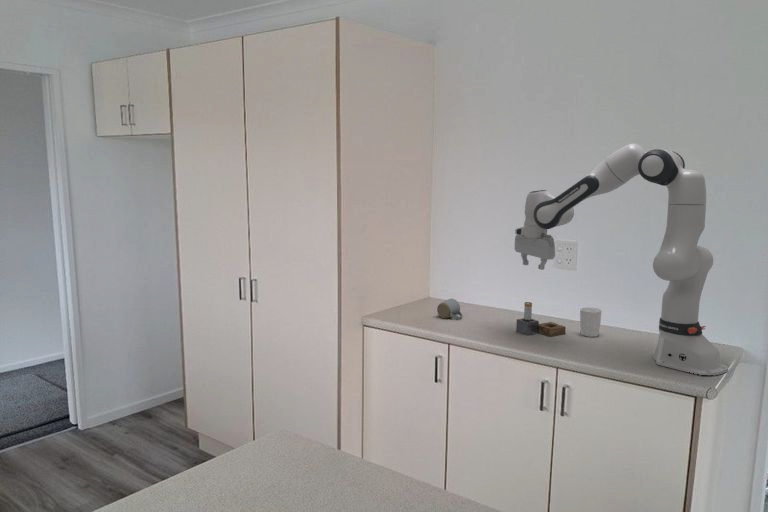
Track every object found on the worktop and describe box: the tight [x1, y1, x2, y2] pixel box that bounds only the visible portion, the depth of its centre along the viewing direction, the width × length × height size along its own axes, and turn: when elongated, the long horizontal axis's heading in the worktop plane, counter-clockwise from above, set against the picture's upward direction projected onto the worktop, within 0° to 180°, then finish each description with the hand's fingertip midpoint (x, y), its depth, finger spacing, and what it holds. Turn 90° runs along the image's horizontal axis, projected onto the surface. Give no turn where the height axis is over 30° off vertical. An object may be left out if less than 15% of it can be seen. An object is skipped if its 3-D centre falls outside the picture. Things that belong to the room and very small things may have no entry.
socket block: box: [515, 317, 540, 336], centre depth 233 cm, size 6×6×5 cm
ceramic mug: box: [436, 298, 463, 321], centre depth 256 cm, size 11×8×8 cm
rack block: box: [537, 321, 567, 338], centre depth 232 cm, size 8×8×3 cm
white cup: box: [579, 306, 603, 338], centre depth 230 cm, size 8×8×10 cm
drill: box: [523, 301, 533, 322], centre depth 232 cm, size 3×3×12 cm
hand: (533, 267), depth 230 cm, fingers open, 8 cm apart
